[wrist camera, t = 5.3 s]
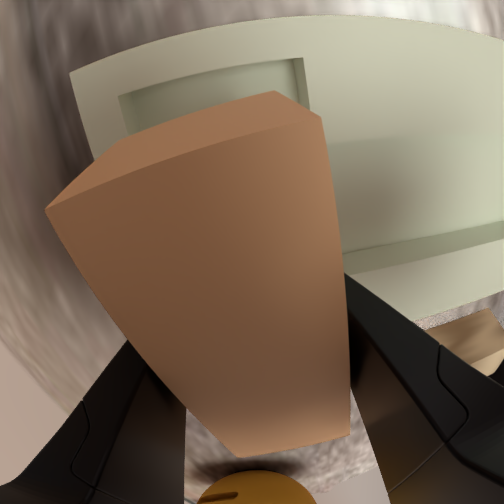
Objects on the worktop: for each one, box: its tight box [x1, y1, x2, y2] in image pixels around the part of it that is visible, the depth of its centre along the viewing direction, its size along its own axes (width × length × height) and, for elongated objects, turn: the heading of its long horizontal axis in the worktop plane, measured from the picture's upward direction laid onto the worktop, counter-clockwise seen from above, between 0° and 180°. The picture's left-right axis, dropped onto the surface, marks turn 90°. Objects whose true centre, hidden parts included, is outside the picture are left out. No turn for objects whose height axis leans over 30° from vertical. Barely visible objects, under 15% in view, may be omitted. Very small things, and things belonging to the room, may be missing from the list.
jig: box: [69, 15, 504, 321], centre depth 11 cm, size 19×13×2 cm
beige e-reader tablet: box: [424, 308, 504, 376], centre depth 18 cm, size 10×4×4 cm, turn 99°
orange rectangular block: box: [44, 90, 350, 458], centre depth 7 cm, size 4×9×4 cm, turn 15°
